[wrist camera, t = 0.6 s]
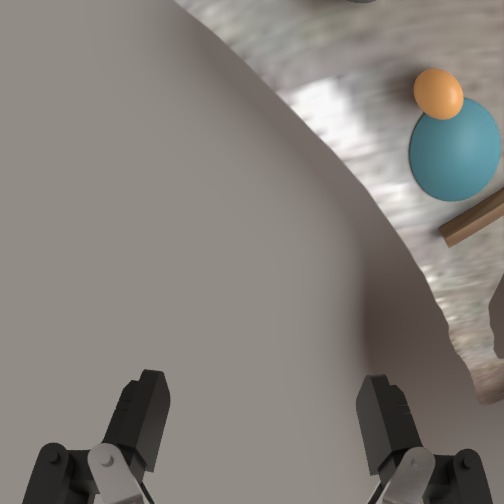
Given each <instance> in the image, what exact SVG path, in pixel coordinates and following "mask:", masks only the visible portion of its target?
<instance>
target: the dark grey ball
mask: <svg viewBox="0 0 504 504" xmlns="http://www.w3.org/2000/svg"><path fill="white" fill-rule="evenodd" d="M348 1H351V2H355V3H369V2H373V1H375V0H348Z"/></svg>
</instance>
